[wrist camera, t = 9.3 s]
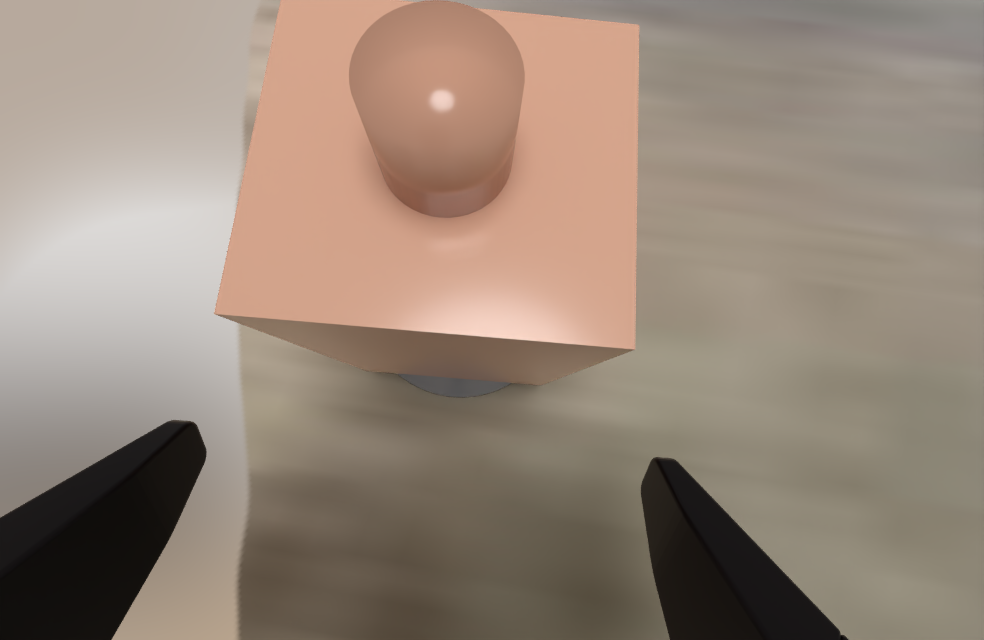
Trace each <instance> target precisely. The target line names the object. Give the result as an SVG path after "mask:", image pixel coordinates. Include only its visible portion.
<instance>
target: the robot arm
mask: <svg viewBox="0 0 984 640" xmlns="http://www.w3.org/2000/svg"><path fill="white" fill-rule="evenodd" d="M205 459H206V447H205V445H204V442H203V440H202V437H201V434H200V432H199V429H198V427H197V425H196V424H195V423H194V422H191V421H181V420H172V421H168V422H166V423H164V424H163V425H161V426H159V427H157V428H156V429H154V430H152V431H150V432H149V433H147V434H145V435H144V436H142V437H140V438H138V439H136V440H135V441H133V442H131V443H129V444H128V445H126V446H124V447H122V448H121V449H119V450H117V451H115V452H114V453H112V454H110V455H109V456H107V457H105V458H104V459H102V460H100V461H98V462H96V463H95V464H93V465H91V466H89V467H88V468H86V469H84V470H82V471H81V472H79V473H77V474H76V475H74V476H72V477H71V478H68V479H67V480H65V481H63V482H62V483H60V484H58V485H56V486H55V487H53V488H51V489H49V490H48V491H46V492H44V493H42V494H41V495H39V496H37V497H35V498H34V499H32V500H30V501H28V502H27V503H25V504H23V505H21V506H20V507H18V508H16V509H15V510H13V511H11V512H9V513H8V514H6V515H4V516H2V517H1V518H0V640H111V639H112V638H113V636H114V634H115V632H116V631H117V629H118V627H119V626H120V624H121V622H122V621H123V619H124V617H125V615H126V614H127V612H128V610H129V608H130V607H131V605H132V603H133V601H134V600H135V598H136V596H137V595H138V593H139V591H140V589H141V587H142V586H143V584H144V582H145V581H146V579H147V577H148V576H149V574H150V572H151V570H152V569H153V567H154V565H155V563H156V562H157V560H158V558H159V556H160V554H161V553H162V551H163V549H164V548H165V546H166V544H167V542H168V540H169V538H170V537H171V534H172V533H173V531H174V528H175V526H176V524H177V522H178V520H179V518H180V516H181V513H182V511H183V509H184V507H185V505H186V502H187V500H188V498H189V496H190V494H191V491H192V489H193V487H194V485H195V483H196V480H197V478H198V476H199V474H200V471H201V469H202V467H203V465H204V463H205ZM641 497H642V504H643V511H644V517H645V524H646V531H647V537H648V544H649V551H650V558H651V564H652V569H653V574H654V579H655V583H656V587H657V591H658V595H659V599H660V603H661V606H662V610H663V614H664V618H665V622H666V626H667V630H668V633H669V637H670V640H848V639H847V637H846V636H844V635H840V631H839V629H838V628H837V627H836V626H835V625H834V624H833V623H832V622H831V621H830V620H829V619H828V618H827V617H826V616H825V615H824V614H823V613H822V612H821V611H820V610H819V609H818V607H817V606H816V605H815V604H814V603H813V602H812V601H811V600H810V599H809V598H808V597H807V596H806V595H805V594H804V593H803V592H802V591H801V590H800V589H799V588H798V587H797V586H796V585H795V584H794V582H793V581H792V580H791V579H790V578H789V577H788V576H787V575H786V574H785V573H784V572H783V571H782V570H781V569H780V568H779V567H778V566H777V565H776V564H775V563H774V562H773V561H772V560H771V559H770V557H769V556H768V555H767V554H766V553H765V552H764V551H763V550H762V549H761V548H760V547H759V546H758V545H757V544H756V543H755V542H754V541H753V540H752V539H751V538H750V537H749V536H748V535H747V533H746V532H745V531H744V530H743V529H742V528H741V527H740V526H739V525H738V524H737V523H736V522H735V521H734V520H733V519H732V518H731V517H730V516H729V515H728V514H727V513H726V512H725V511H724V510H723V508H722V507H721V506H720V505H719V504H718V503H717V502H716V501H715V500H714V499H713V498H712V497H711V496H710V495H709V494H708V493H707V492H706V491H705V490H704V489H703V488H702V487H701V486H700V485H699V483H698V482H697V481H696V480H695V479H694V478H693V477H692V476H691V475H690V474H689V473H688V472H687V471H686V470H685V469H684V468H683V467H682V466H681V465H680V464H679V463H678V462H677V461H676V460H674V459H671V458H660V457H655V458H653V459H652V460H651V462H650V464H649V467H648V469H647V472H646V474H645V476H644V479H643V481H642V485H641Z"/></svg>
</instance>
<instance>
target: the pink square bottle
mask: <svg viewBox="0 0 984 640" xmlns="http://www.w3.org/2000/svg"><path fill="white" fill-rule="evenodd" d="M638 77H639V25H635V24H626V23H616V22H606V21H596V20H586V19H577V18H567V17H557V16H547V15H537V14H528V13H518V12H508V11H498V10H488V9H478V8H473V7H470V6H468V5H464V4H461V3H457V2H450V1H438V0H433V1H422V2H410V1H400V0H281V2H280V6H279V11H278V16H277V21H276V25H275V30H274V35H273V39H272V44H271V49H270V54H269V58H268V63H267V68H266V72H265V77H264V82H263V86H262V91H261V96H260V101H259V105H258V110H257V115H256V119H255V124H254V129H253V134H252V138H251V143H250V148H249V152H248V157H247V162H246V166H245V171H244V176H243V181H242V185H241V190H240V195H239V199H238V204H237V209H236V213H235V218H234V223H233V228H232V233H231V237H230V242H229V246H228V251H227V256H226V261H225V265H224V270H223V275H222V279H221V284H220V289H219V293H218V299H217V303H216V308H215V312H214V314H216V315H218V316H221V317H224V318H226V319H229V320H232V321H234V322H237V323H240V324H242V325H245V326H248V327H250V328H253V329H256V330H258V331H261V332H264V333H266V334H269V335H272V336H274V337H277V338H280V339H283V340H285V341H288V342H291V343H293V344H296V345H299V346H301V347H304V348H307V349H309V350H312V351H315V352H317V353H320V354H323V355H325V356H328V357H331V358H333V359H336V360H339V361H341V362H344V363H347V364H349V365H352V366H355V367H357V368H360V369H363V370H365V371H373V372H385V373H397V374H409V375H421V376H434V377H446V378H458V379H470V380H482V381H494V382H507V383H519V384H531V385H543V384H546V383H549V382H551V381H554V380H556V379H559V378H562V377H564V376H567V375H569V374H572V373H575V372H577V371H580V370H583V369H585V368H588V367H590V366H593V365H596V364H598V363H601V362H604V361H606V360H609V359H611V358H614V357H617V356H619V355H622V354H625V353H627V352H630V351H632V350H635V319H636V238H637V158H638Z"/></svg>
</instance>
